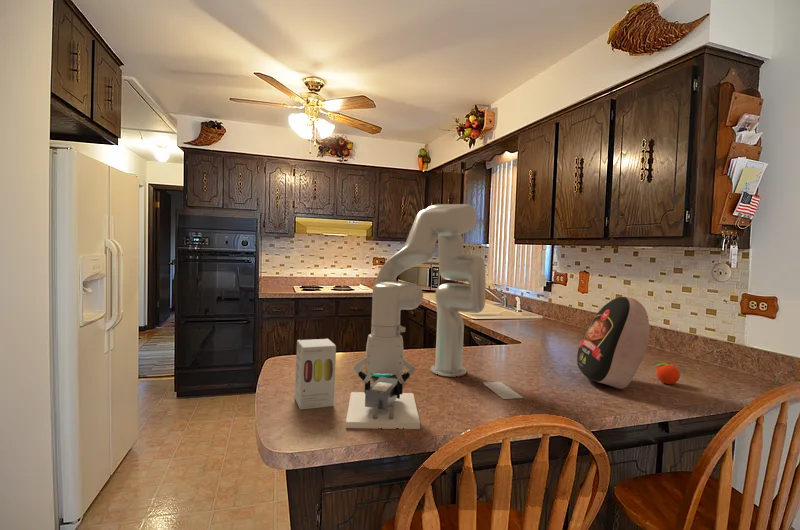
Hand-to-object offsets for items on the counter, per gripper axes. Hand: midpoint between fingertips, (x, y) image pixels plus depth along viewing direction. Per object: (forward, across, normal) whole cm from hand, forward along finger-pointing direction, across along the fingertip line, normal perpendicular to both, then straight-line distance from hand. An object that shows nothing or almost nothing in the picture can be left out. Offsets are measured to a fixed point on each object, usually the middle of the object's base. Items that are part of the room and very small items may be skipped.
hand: (383, 396), depth 109 cm
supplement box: (+4, +19, -6) cm, 20 cm away
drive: (+1, 0, 0) cm, 1 cm away
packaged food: (+5, -78, -27) cm, 83 cm away
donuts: (+5, 0, -32) cm, 32 cm away
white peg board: (+4, 0, 0) cm, 4 cm away
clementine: (+5, -99, -28) cm, 103 cm away
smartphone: (+5, -38, -18) cm, 42 cm away
